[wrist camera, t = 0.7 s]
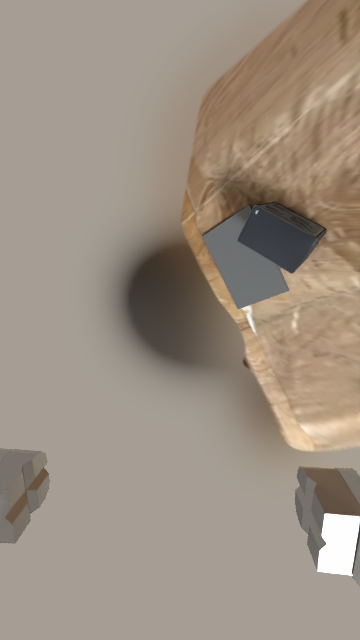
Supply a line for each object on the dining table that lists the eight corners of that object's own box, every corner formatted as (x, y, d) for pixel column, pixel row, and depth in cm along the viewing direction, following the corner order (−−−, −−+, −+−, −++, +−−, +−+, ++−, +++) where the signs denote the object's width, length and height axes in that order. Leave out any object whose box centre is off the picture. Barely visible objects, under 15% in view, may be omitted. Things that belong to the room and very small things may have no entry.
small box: (255, 234, 51) (233, 241, 43) (274, 200, 47) (254, 201, 39) (304, 262, 48) (291, 276, 40) (328, 229, 44) (319, 236, 36)
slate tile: (249, 204, 50) (248, 205, 50) (289, 290, 52) (288, 290, 51) (203, 236, 58) (202, 236, 58) (238, 308, 60) (237, 309, 60)
